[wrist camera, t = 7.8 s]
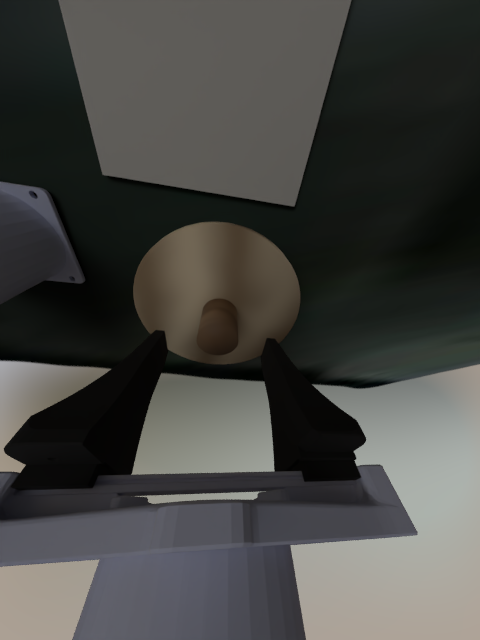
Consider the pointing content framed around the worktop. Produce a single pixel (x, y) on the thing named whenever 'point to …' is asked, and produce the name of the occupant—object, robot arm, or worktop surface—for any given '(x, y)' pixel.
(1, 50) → the worktop surface
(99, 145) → the mat
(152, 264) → the lid
